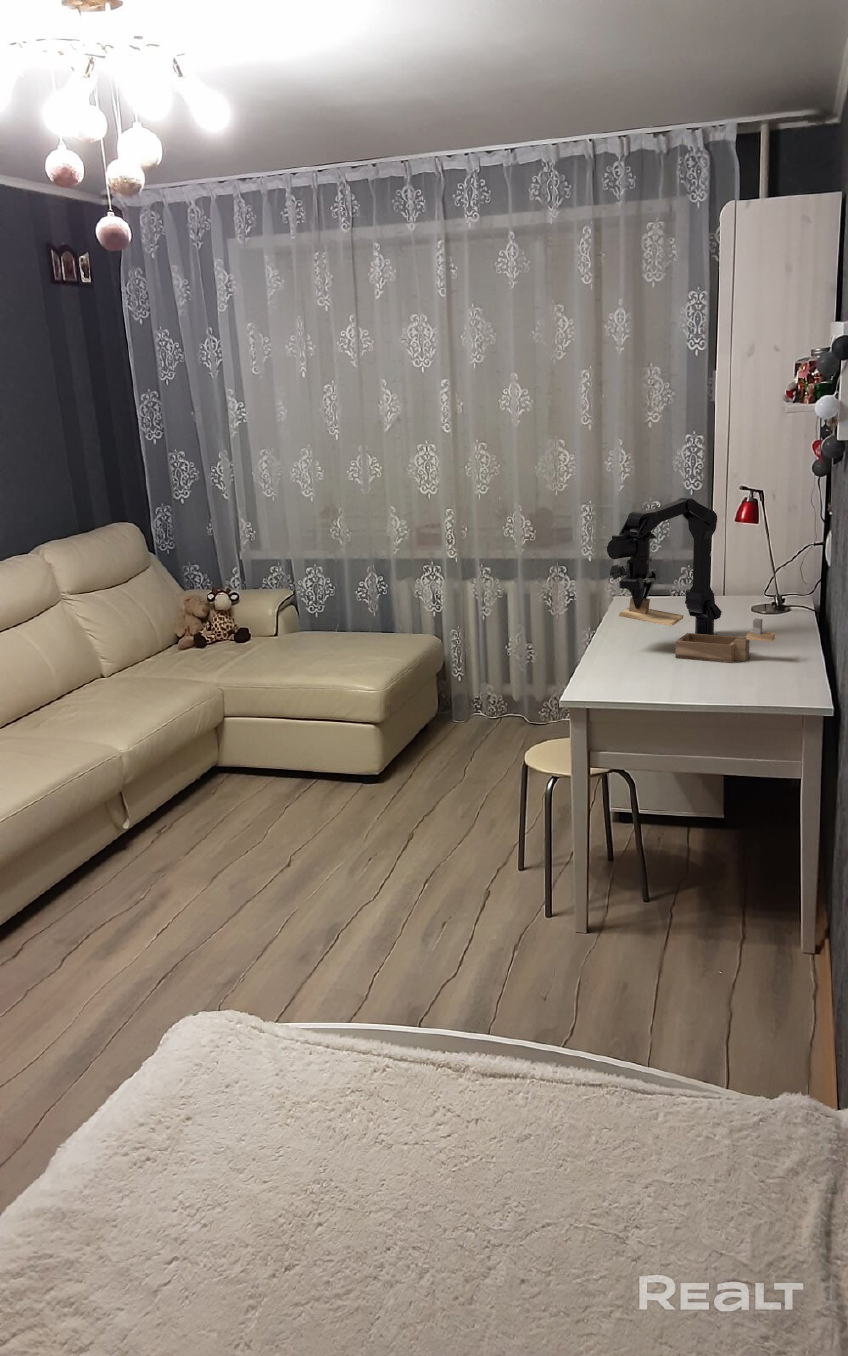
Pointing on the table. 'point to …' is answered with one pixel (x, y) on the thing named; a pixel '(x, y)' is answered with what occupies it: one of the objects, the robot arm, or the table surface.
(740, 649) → the toolbox
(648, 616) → the lid
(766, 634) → the block
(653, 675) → the table surface
